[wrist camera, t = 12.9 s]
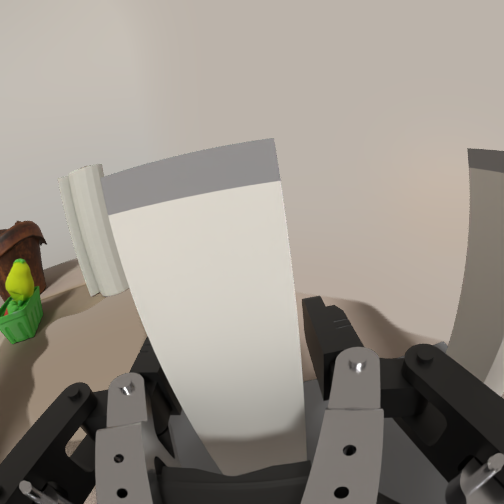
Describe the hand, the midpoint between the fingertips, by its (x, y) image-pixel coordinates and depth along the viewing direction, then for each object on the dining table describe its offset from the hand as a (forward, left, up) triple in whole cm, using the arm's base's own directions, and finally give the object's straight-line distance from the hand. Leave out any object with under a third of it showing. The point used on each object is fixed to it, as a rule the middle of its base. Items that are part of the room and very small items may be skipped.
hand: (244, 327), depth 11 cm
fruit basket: (-38, +17, -10) cm, 43 cm away
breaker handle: (0, -3, -7) cm, 8 cm away
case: (-55, +32, -10) cm, 65 cm away
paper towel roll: (-25, +29, -10) cm, 40 cm away
